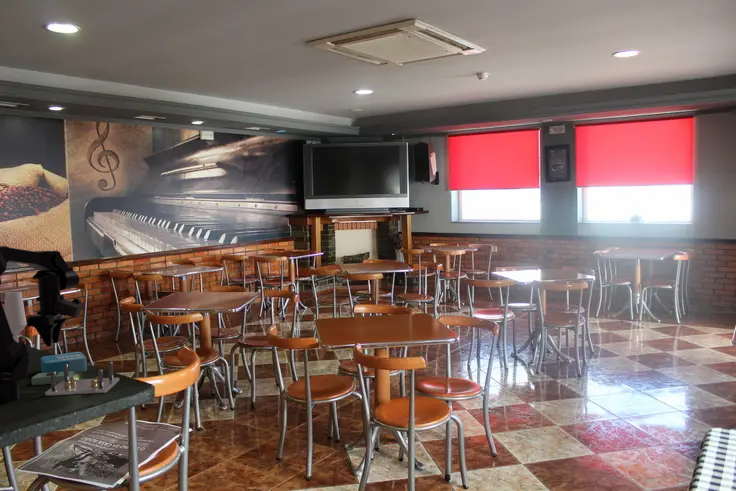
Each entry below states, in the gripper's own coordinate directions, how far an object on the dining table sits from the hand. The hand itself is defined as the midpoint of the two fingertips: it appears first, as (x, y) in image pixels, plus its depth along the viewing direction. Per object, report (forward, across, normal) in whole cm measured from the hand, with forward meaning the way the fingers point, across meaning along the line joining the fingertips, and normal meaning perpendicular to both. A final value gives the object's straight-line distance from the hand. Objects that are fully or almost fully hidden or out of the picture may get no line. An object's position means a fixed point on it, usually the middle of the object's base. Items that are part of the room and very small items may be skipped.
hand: (52, 344), depth 182 cm
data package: (+9, +17, +5) cm, 19 cm away
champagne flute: (+11, +28, +24) cm, 38 cm away
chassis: (+11, -10, -12) cm, 19 cm away
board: (+11, 0, 0) cm, 11 cm away
